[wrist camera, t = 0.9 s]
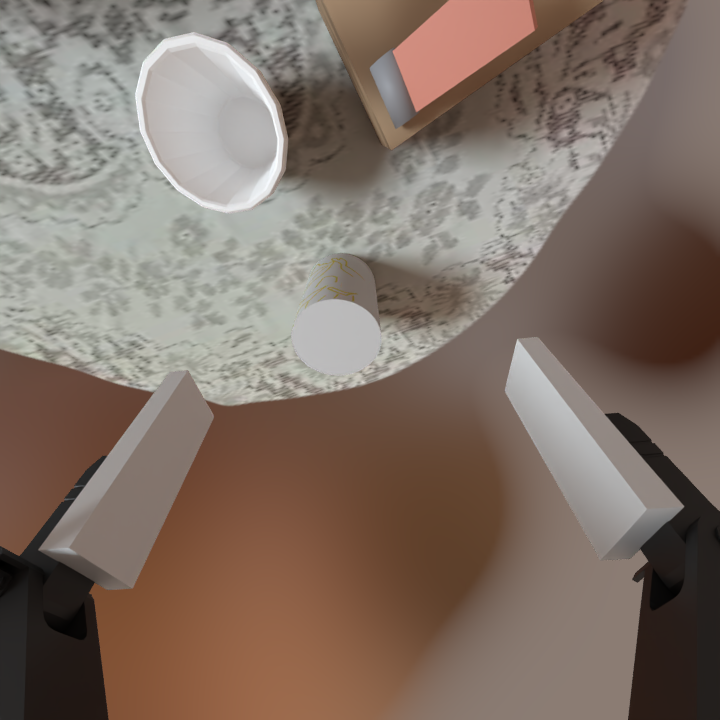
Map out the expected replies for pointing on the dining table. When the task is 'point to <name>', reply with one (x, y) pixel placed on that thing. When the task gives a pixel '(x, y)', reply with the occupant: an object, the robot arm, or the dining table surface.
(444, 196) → the dining table surface
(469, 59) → the keeper tab
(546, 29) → the block
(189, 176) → the cup
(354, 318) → the cup
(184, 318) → the dining table surface
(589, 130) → the dining table surface
